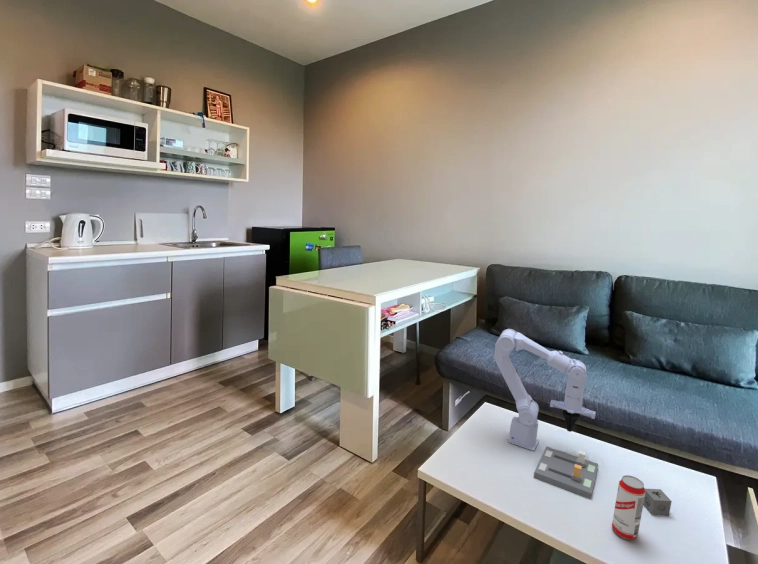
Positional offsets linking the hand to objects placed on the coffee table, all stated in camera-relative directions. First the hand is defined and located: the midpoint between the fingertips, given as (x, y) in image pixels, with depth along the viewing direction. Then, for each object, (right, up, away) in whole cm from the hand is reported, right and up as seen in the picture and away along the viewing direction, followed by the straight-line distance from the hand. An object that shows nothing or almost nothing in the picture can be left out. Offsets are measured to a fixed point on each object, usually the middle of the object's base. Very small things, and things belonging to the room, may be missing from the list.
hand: (569, 430), depth 146 cm
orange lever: (-5, -10, -15) cm, 19 cm away
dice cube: (+14, -15, -24) cm, 32 cm away
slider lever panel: (-5, -11, -9) cm, 15 cm away
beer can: (-1, -16, -34) cm, 37 cm away
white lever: (0, -9, -8) cm, 12 cm away
